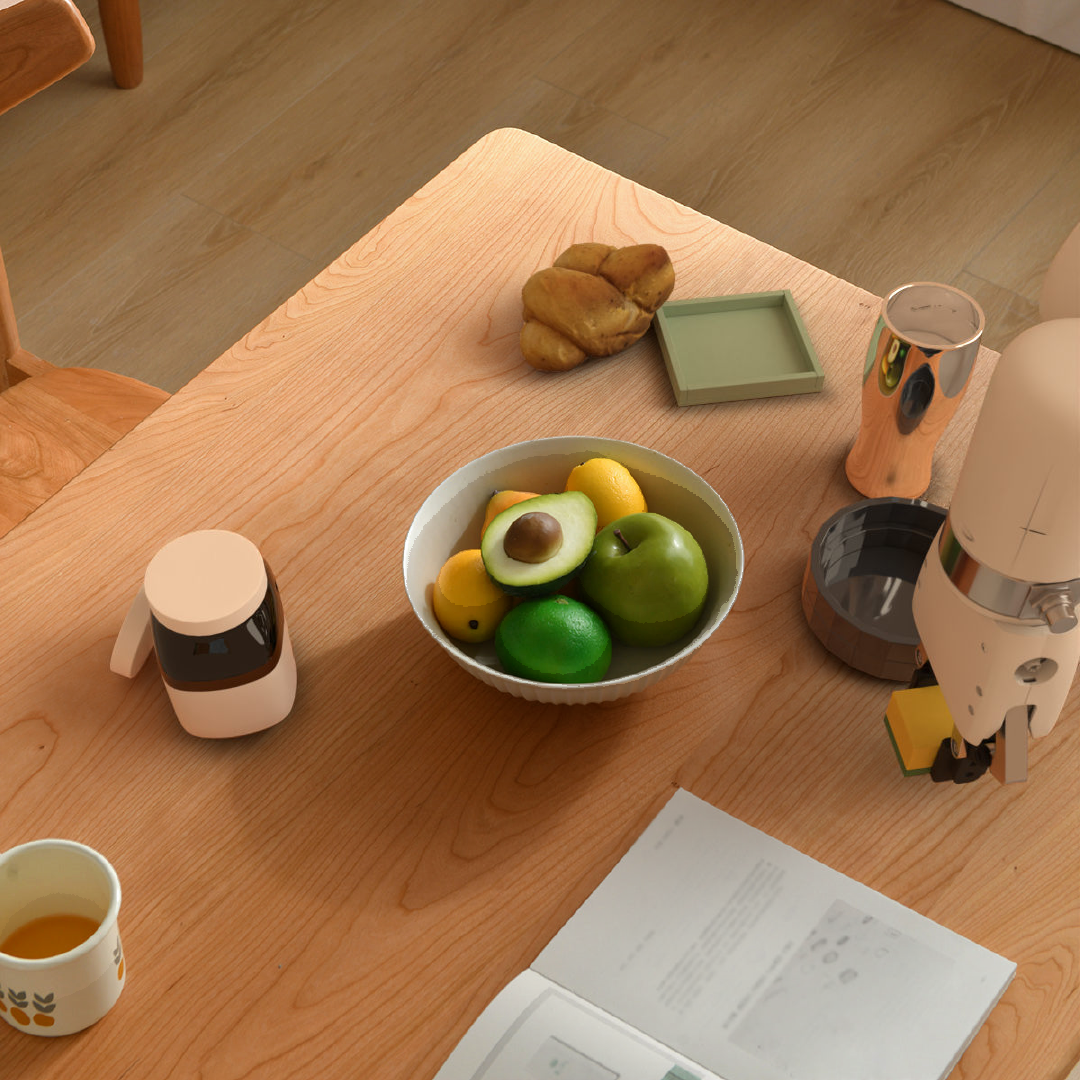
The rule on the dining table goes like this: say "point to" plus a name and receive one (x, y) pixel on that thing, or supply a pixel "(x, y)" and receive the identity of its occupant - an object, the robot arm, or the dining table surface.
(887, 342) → the beer glass
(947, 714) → the sponge
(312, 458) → the dining table surface
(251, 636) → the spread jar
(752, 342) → the sponge tray
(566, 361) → the bread roll
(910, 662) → the bowl
